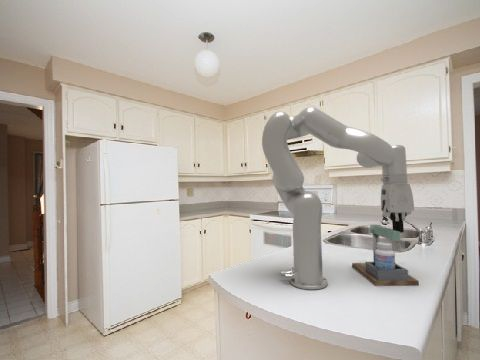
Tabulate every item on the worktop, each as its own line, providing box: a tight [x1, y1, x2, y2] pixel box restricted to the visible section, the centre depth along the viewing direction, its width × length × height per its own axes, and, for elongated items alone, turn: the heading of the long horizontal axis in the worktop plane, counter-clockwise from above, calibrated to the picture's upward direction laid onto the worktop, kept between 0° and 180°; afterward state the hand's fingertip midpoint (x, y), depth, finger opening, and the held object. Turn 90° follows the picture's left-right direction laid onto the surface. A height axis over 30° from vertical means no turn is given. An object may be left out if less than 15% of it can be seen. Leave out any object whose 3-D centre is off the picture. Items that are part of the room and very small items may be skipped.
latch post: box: [372, 233, 381, 262], centre depth 103 cm, size 2×2×12 cm
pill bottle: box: [375, 241, 396, 269], centre depth 90 cm, size 6×6×11 cm
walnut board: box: [351, 262, 420, 287], centre depth 95 cm, size 14×20×2 cm
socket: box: [364, 261, 409, 281], centre depth 90 cm, size 10×10×4 cm
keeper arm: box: [369, 223, 401, 242], centre depth 97 cm, size 17×4×3 cm, turn 177°
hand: (398, 231), depth 92 cm, fingers closed
